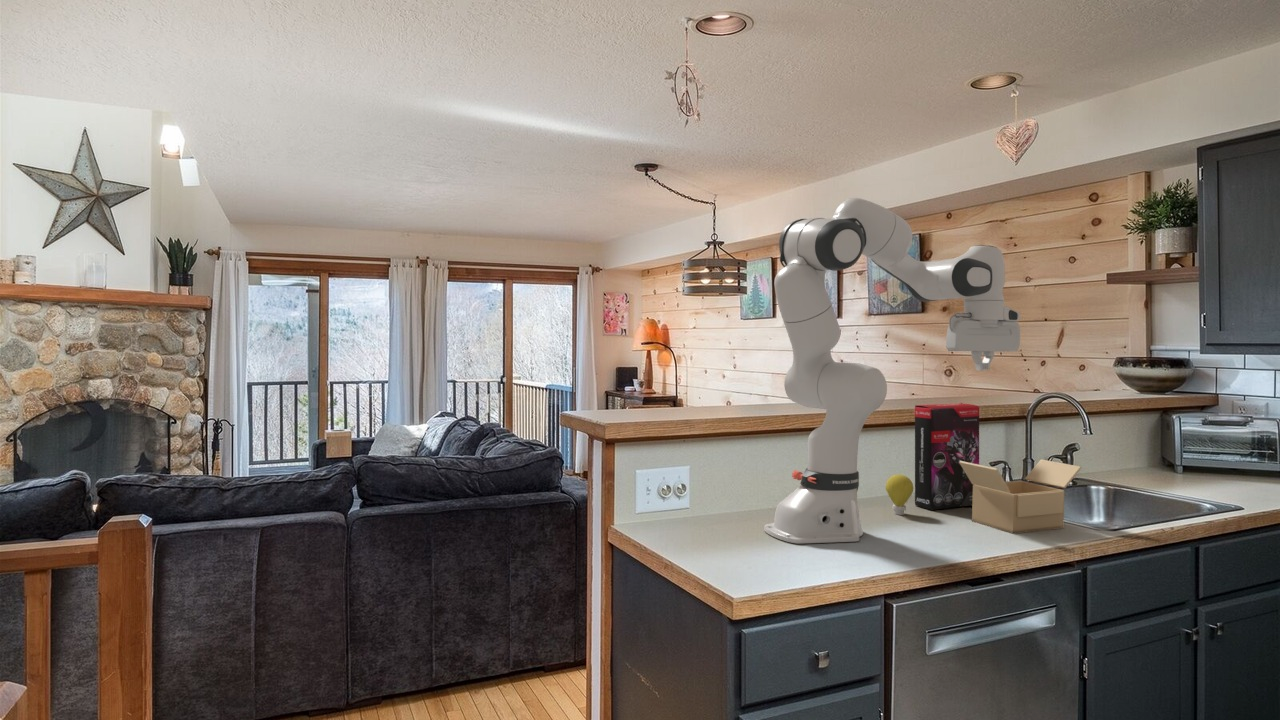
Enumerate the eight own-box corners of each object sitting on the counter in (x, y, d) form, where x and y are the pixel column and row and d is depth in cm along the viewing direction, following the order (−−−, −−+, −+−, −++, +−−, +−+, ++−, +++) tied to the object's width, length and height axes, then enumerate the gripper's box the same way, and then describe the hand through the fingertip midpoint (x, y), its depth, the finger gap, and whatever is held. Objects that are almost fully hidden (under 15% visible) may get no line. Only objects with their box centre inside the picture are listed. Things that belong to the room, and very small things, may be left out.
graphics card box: (930, 511, 188) (933, 406, 187) (911, 505, 195) (913, 404, 194) (980, 506, 195) (982, 404, 194) (959, 501, 201) (962, 402, 200)
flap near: (973, 482, 178) (960, 460, 176) (1010, 491, 167) (997, 468, 166) (972, 483, 177) (958, 462, 176) (1009, 493, 167) (995, 470, 165)
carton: (1015, 534, 167) (1016, 495, 166) (969, 520, 179) (970, 484, 179) (1065, 528, 172) (1066, 490, 172) (1018, 515, 185) (1019, 480, 184)
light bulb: (901, 509, 190) (902, 471, 189) (918, 515, 183) (919, 476, 183) (879, 511, 188) (880, 472, 187) (896, 517, 181) (897, 477, 181)
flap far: (1064, 486, 173) (1080, 466, 175) (1024, 478, 183) (1040, 459, 185) (1065, 488, 173) (1081, 468, 175) (1025, 479, 184) (1041, 460, 185)
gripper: (960, 312, 170) (958, 371, 170) (1025, 313, 177) (1024, 370, 177) (940, 312, 176) (939, 370, 176) (1004, 314, 183) (1003, 369, 183)
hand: (982, 370), depth 177 cm, fingers closed
